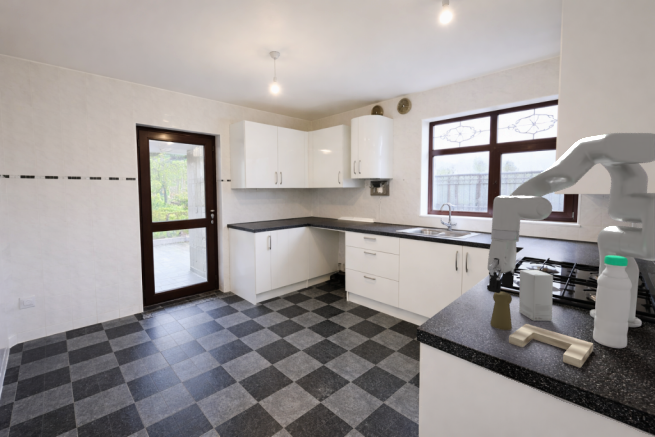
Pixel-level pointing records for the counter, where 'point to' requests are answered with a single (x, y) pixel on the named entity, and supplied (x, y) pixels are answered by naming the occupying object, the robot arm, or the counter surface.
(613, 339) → the water bottle
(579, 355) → the wooden u-shaped block
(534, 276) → the skincare box
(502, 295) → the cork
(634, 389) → the counter surface
